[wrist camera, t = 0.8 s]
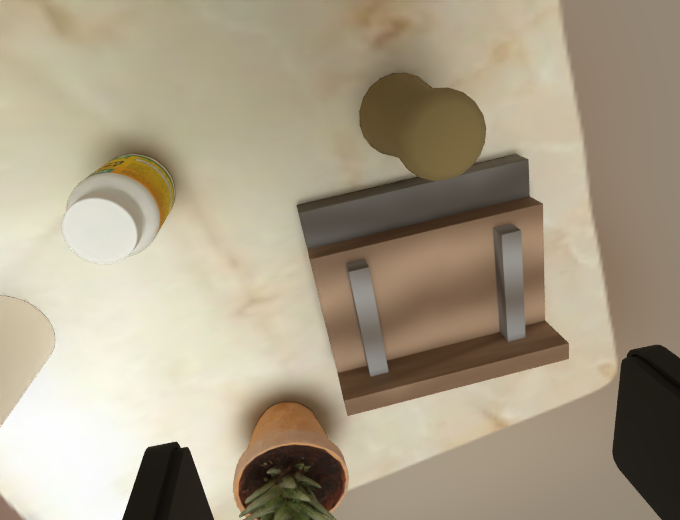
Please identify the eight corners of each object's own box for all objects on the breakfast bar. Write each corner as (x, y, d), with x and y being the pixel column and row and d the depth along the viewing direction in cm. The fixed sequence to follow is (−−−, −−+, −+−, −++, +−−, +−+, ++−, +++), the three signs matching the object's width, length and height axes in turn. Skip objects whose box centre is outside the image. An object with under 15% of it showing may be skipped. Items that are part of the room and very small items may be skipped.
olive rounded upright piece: (352, 82, 35) (387, 95, 25) (432, 64, 35) (499, 70, 25) (366, 163, 38) (404, 205, 28) (441, 146, 38) (505, 181, 28)
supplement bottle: (144, 236, 37) (108, 294, 29) (84, 188, 35) (25, 234, 27) (192, 188, 36) (169, 232, 28) (132, 136, 34) (87, 165, 26)
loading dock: (297, 205, 38) (304, 239, 31) (516, 154, 39) (569, 176, 32) (334, 359, 44) (347, 415, 37) (522, 312, 45) (568, 358, 38)
